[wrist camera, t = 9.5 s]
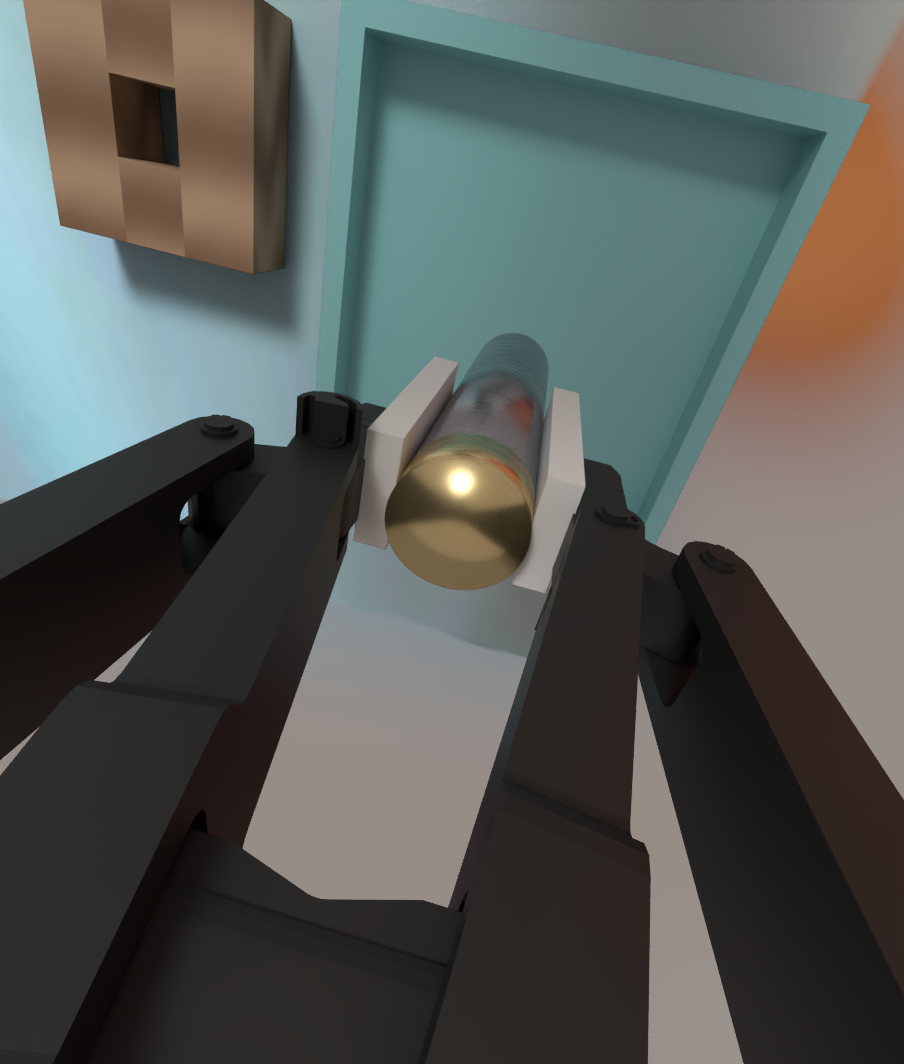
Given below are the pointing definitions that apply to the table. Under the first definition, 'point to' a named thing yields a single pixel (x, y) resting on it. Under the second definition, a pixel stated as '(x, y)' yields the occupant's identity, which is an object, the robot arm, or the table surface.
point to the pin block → (136, 133)
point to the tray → (564, 222)
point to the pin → (475, 473)
